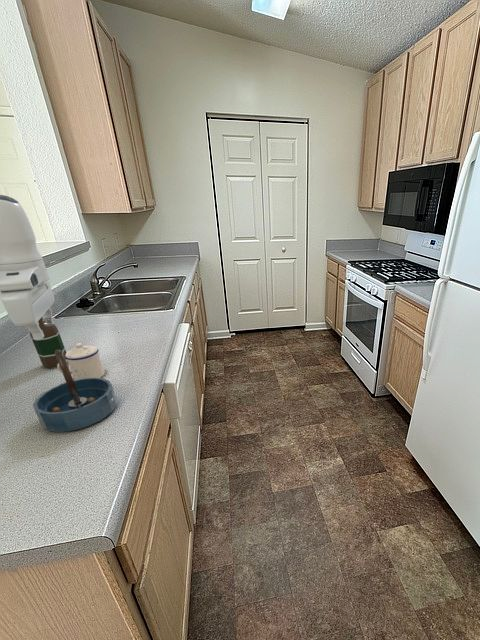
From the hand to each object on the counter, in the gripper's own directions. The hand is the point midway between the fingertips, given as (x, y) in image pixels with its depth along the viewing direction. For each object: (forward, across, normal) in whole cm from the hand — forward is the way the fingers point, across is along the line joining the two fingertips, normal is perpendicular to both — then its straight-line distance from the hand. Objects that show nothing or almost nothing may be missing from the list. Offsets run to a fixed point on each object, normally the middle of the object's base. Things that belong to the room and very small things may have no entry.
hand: (44, 331), depth 80 cm
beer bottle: (+24, -37, -11) cm, 45 cm away
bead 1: (+22, 0, -4) cm, 22 cm away
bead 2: (+22, -1, +4) cm, 22 cm away
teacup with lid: (+24, -21, 0) cm, 31 cm away
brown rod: (+23, +1, +2) cm, 23 cm away
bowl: (+24, +1, +2) cm, 24 cm away
